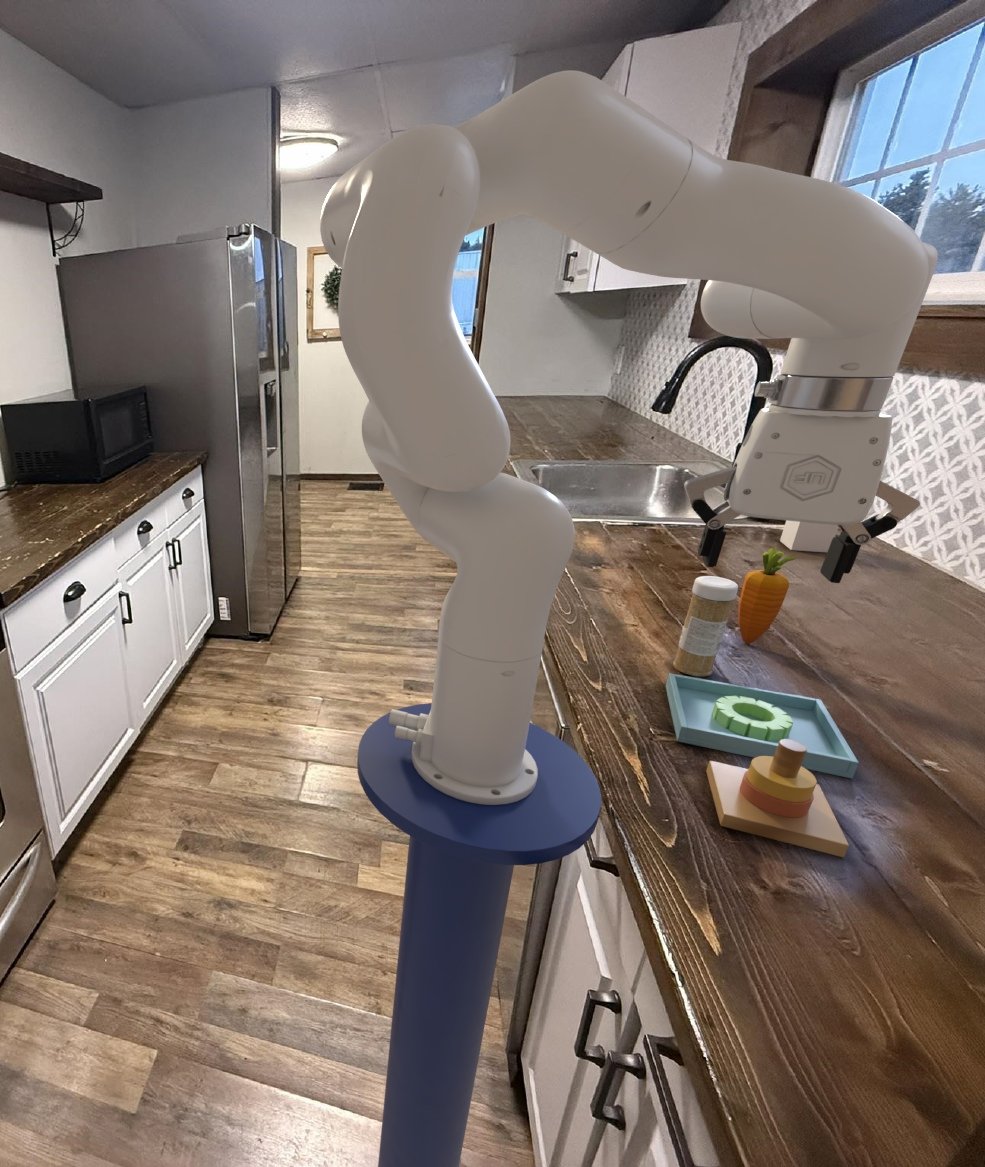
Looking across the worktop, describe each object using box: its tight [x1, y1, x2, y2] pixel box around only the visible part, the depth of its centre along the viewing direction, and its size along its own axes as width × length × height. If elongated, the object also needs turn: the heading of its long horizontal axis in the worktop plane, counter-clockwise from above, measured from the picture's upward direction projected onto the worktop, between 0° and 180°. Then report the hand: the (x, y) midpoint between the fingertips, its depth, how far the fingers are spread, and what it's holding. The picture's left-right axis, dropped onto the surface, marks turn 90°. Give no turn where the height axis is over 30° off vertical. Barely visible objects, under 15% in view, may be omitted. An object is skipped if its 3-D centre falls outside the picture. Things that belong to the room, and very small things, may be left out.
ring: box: [712, 696, 793, 741], centre depth 74 cm, size 7×7×2 cm
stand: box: [705, 739, 850, 858], centre depth 61 cm, size 9×9×8 cm
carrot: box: [737, 547, 797, 645], centre depth 90 cm, size 5×5×15 cm
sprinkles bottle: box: [672, 575, 739, 678], centre depth 85 cm, size 5×5×14 cm
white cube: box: [779, 520, 839, 553], centre depth 127 cm, size 6×6×6 cm
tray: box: [665, 673, 860, 779], centre depth 74 cm, size 15×13×2 cm
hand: (766, 570), depth 64 cm, fingers open, 9 cm apart
